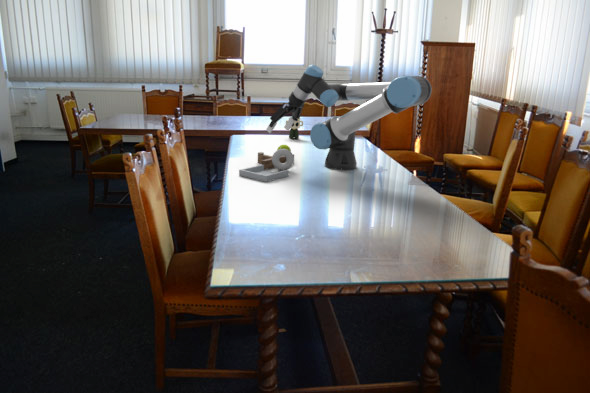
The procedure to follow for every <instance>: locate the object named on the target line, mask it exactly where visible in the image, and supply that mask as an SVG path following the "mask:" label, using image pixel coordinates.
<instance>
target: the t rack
mask: <svg viewBox="0 0 590 393" xmlns="http://www.w3.org/2000/svg"><path fill="white" fill-rule="evenodd" d="M292 154H293V153H292ZM272 156H273V155H270V154H269V155H268V154H265V153H264V152H262V151H259V152H257V163H258V164H260V165H264V170H269V169H273V168H275V167H274V165H273V163H272ZM293 156H294V157H295V154H293ZM279 161H280V162H281V163H285V162H286V161H287V159H286V157H285V156H281V157H280V158H279Z"/></svg>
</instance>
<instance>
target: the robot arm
mask: <svg viewBox="0 0 590 393" xmlns="http://www.w3.org/2000/svg"><path fill="white" fill-rule="evenodd" d="M323 75H324V71H323V70H322V68H320V67H319V66H317V64H316V65H315V64H309V65H308V67H306V69H305V71H303V74H302V76H301V77H300V79H299V80H298V82H297V84H295V87H294V89H293V90H292V92H290V94H289V96H288V103H287V104H286V103H285V102H283V103H282V105H281V106H280V107H279V108H278V109H277V110H276V111H275V112H274V113H273V114H272V115H271V116H270V117H269V119H270V120H271V122H270V123H269V124H268V125H267V128H266V129H265V130H266V131H267V133H268V134H272V132H273V130H274V129H275V127H276V126H277V124H278V122H279V121H280V120H281V119H282V118H283V117H286V115H290V114H291V116H290V119H289V118H288V119H287V120H288V122H287V123H286V122H285V125H284V127H283V128H284V129H285V130H286V131H287V132H290V129H291V128H290V127H291V126H292V124H293V123H294V121H298V119H299V118H300V119H301V116H302V111H303V108H304V106H305V103H306V102H307V100H308V99H309V97H310V95H311V94H313V95H314V96H315V98H316V99H318V100H319V101H320V103H321V104H322V105H323V106H325V107H327V108H330V107H333V106H334V105H335V104H336V103H337V102H340V101H343V102H344V101H366V102H364V103H362V104H360V105H359V106H357V107H355V108H353V109H352V110H350V111H348V112H346V113H344V114H343V115H341V116H338V115H337V116H336V115H333V116H332V117H330V118H328V119H327V120H325V121H323V122H318V123H316V124H314V125H313V126H312V127H311V129H310V134H309V136H310V142H311V143H312V145H313V146H314V147H315V148H316V149H318V150H325V151H326V150H328V153H327V155H326V157H325V160H324V166H325V167H326V168H328V169H331V170H343V171H345V170H346V171H348V170H354V169H356V168H357V164H358V163H357V160H356V159H357V158H356V154H355V144H356V143H355V141H356V132H357V131H358V130H360V129H362V128H364V127H367V126H369V125H371V124H372V123H373V122H376V121H378V120H379V119H381V118H383V117H385V116H387V115H389V114H391V113H393V114H400V113H401V112H403V111H405V110H407V109H409V108H411V107H415V106H416V107H417V106H420V105H424V104H425V103H426V102H428V100H430V97H431V95H432V92H433V89H432V84H431V83H430V81H429V80H428V78H426V77H424V76H421V75H402V76H398V77H396V78H395V79H392V80H391V81H384V82H383V81H382V82H381V81H380V82H359V83H358V82H357V83H353V82H352V83H335V84H334V83H333V84H330V83H329V84H328V82H326V81H325V80H324V78H323ZM297 118H298V119H297Z"/></svg>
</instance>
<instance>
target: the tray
mask: <svg viewBox="0 0 590 393" xmlns="http://www.w3.org/2000/svg"><path fill="white" fill-rule="evenodd" d="M289 170H290V169H288V170H284V171H282V170H279V171H278V172H276V171H271V170H269V169H266V170H264V165H261V164H259V165H254V166H250V167H246V168H242V169H238V171H239V172H238V176H239V177H245V178H247V179H252V180H257V181H261V182H264V183H268V182H270V181H274V180H275V181H276V180H279V179H282V178H287V177H289Z"/></svg>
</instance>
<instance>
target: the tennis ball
mask: <svg viewBox="0 0 590 393" xmlns="http://www.w3.org/2000/svg"><path fill="white" fill-rule="evenodd" d="M279 149H287V150H289V151H290V152H291V153H292V151H291V147H290V146H289V145H287V144H281V145H279V146H278V147H277V149H276V151H277V150H279Z"/></svg>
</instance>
